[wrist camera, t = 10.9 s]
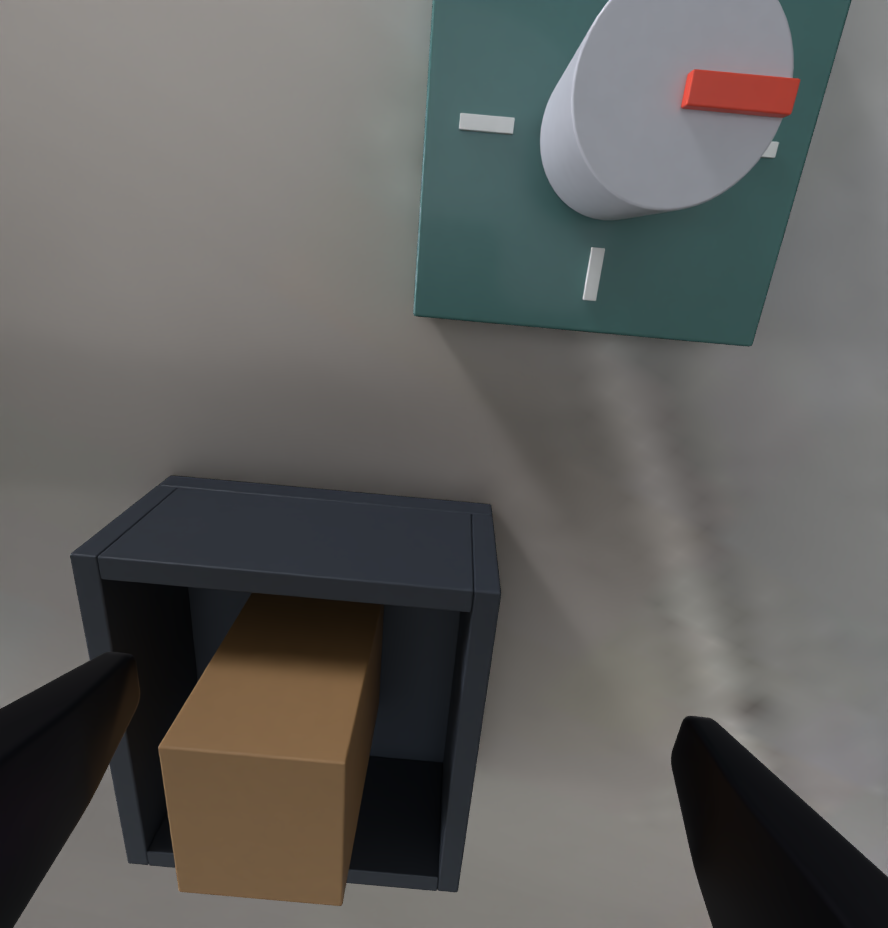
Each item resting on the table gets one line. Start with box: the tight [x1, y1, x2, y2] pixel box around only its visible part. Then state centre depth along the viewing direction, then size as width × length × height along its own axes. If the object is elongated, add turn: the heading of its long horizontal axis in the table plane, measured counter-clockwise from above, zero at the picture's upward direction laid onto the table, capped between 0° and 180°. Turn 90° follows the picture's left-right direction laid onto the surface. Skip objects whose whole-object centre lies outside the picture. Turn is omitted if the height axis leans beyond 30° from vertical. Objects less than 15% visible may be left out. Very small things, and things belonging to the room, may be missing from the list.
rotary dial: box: [413, 0, 851, 347], centre depth 16 cm, size 10×10×3 cm
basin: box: [70, 476, 501, 892], centre depth 21 cm, size 13×14×6 cm
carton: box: [158, 593, 384, 906], centre depth 19 cm, size 5×6×8 cm
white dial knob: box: [540, 0, 800, 220], centre depth 12 cm, size 4×4×5 cm
